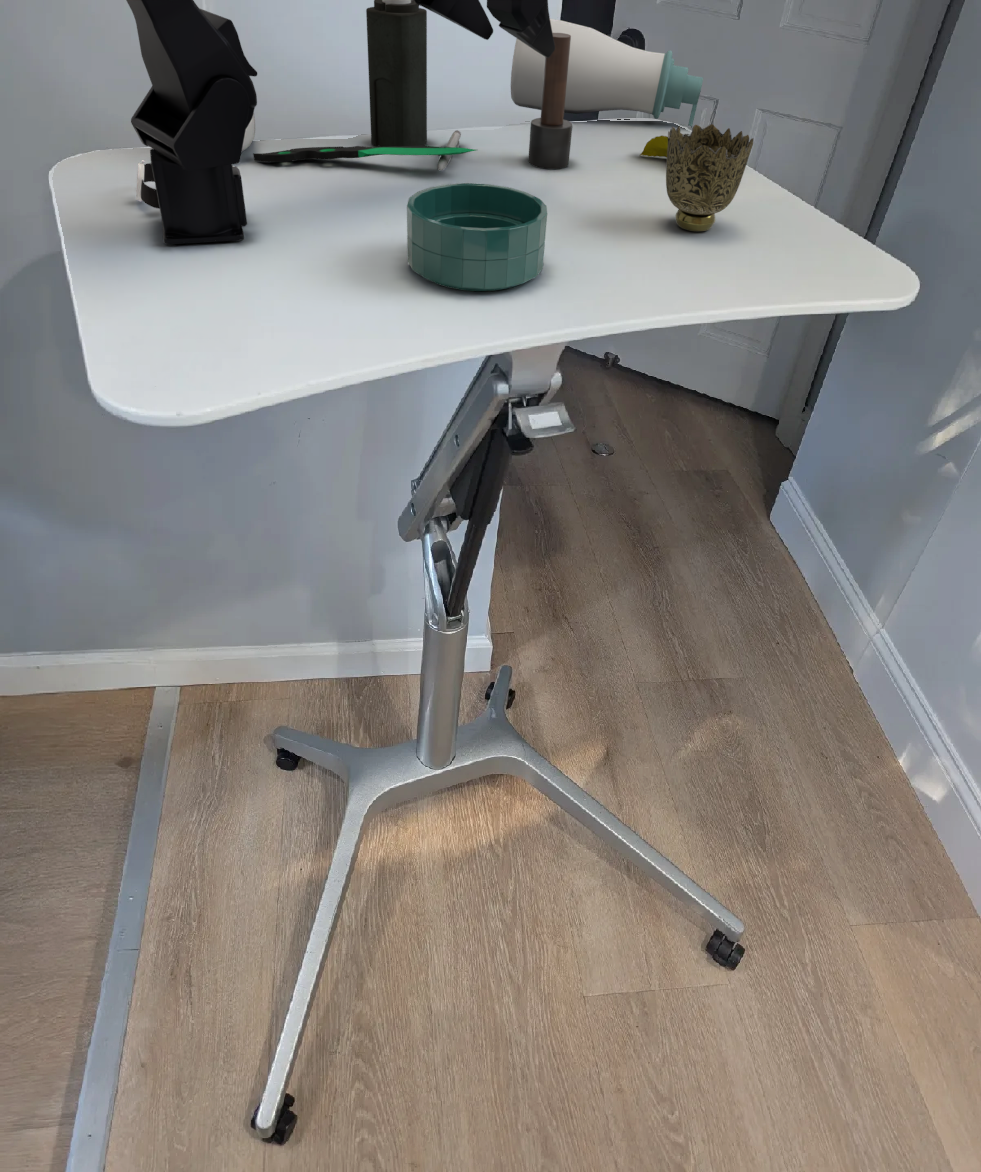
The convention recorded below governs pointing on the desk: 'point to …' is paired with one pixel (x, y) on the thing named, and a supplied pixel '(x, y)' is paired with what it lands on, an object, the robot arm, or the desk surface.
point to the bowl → (476, 236)
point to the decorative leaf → (656, 147)
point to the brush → (552, 112)
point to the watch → (143, 190)
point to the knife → (354, 152)
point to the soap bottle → (605, 76)
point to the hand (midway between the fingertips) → (519, 44)
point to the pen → (452, 142)
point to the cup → (704, 173)
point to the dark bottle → (397, 73)
